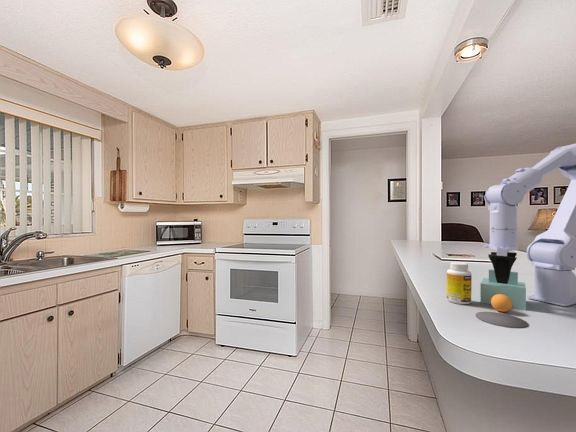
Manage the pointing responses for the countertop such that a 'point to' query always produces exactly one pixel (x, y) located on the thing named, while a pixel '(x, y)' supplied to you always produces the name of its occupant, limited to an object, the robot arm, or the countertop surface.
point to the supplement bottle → (459, 283)
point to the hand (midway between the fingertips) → (502, 280)
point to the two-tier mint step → (504, 290)
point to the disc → (501, 319)
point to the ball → (501, 302)
